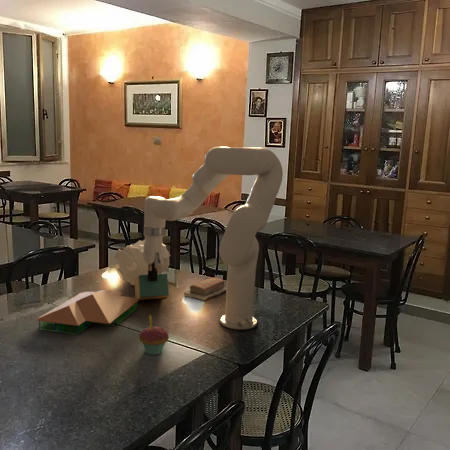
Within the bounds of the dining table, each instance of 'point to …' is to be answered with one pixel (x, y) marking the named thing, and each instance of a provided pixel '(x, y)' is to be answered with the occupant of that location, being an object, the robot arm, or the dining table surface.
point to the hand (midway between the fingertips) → (152, 280)
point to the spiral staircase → (138, 261)
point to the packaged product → (206, 288)
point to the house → (89, 310)
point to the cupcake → (153, 338)
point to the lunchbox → (151, 287)
